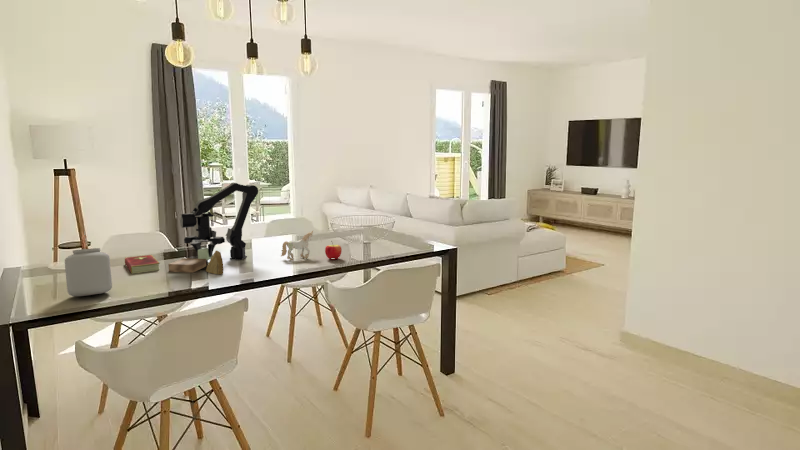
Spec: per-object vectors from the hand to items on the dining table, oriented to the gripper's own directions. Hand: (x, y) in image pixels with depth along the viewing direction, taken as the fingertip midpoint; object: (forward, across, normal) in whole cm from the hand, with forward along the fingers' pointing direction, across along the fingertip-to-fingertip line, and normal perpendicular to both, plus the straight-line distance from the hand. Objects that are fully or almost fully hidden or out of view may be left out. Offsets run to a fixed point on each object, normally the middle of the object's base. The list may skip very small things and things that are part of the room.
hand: (205, 256), depth 246 cm
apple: (+3, -61, -17) cm, 63 cm away
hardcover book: (+4, +25, +14) cm, 29 cm away
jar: (+3, +17, +57) cm, 59 cm away
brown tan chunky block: (+3, -14, +18) cm, 23 cm away
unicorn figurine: (+3, -42, -18) cm, 46 cm away
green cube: (+1, 0, 0) cm, 1 cm away
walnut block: (+3, +2, +13) cm, 13 cm away
